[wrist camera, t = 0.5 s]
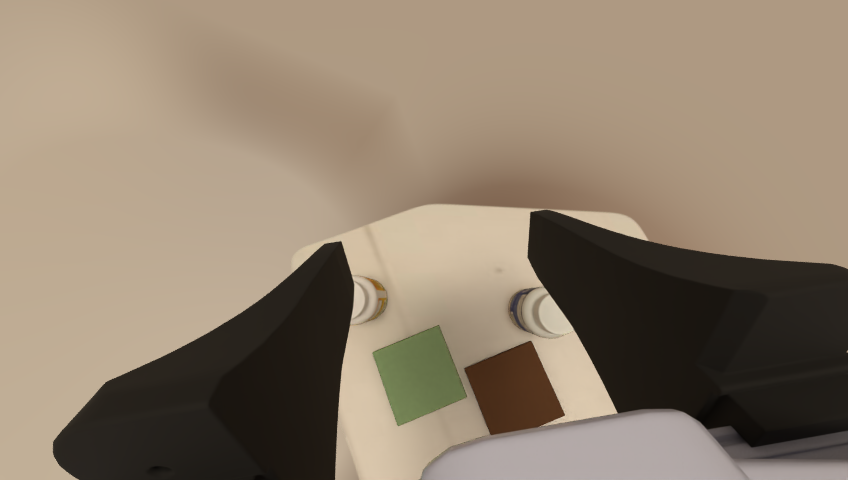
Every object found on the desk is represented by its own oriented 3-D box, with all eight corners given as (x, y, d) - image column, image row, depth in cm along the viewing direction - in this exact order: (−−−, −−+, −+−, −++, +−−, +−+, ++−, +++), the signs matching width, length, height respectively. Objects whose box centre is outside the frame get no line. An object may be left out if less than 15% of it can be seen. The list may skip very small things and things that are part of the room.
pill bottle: (553, 293, 38) (591, 292, 29) (546, 335, 37) (584, 348, 28) (511, 284, 39) (535, 280, 29) (504, 325, 38) (527, 335, 28)
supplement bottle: (343, 284, 40) (314, 280, 30) (382, 274, 40) (366, 267, 30) (351, 324, 39) (323, 333, 29) (391, 315, 39) (376, 320, 29)
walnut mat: (563, 413, 36) (565, 415, 35) (494, 443, 35) (495, 445, 35) (530, 340, 37) (531, 341, 37) (464, 368, 37) (464, 369, 37)
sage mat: (466, 395, 37) (466, 397, 36) (398, 424, 36) (397, 426, 36) (438, 325, 38) (438, 325, 38) (373, 352, 38) (372, 352, 37)
